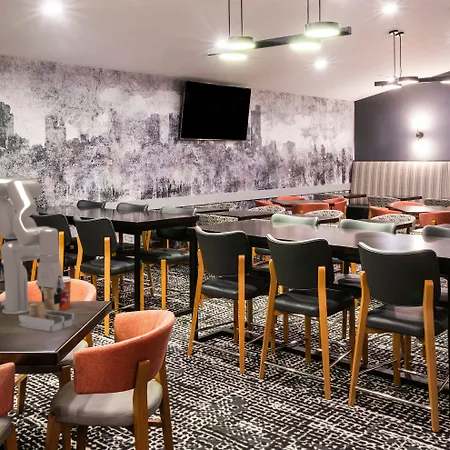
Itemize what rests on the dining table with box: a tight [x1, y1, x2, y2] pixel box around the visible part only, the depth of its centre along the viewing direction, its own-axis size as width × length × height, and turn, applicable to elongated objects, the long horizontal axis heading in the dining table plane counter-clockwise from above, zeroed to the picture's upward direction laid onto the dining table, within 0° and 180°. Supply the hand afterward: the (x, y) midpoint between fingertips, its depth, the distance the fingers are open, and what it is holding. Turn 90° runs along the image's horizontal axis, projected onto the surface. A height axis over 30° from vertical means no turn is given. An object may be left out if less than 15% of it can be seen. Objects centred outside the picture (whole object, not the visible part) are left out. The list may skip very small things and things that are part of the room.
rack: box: [18, 310, 75, 333], centre depth 242 cm, size 18×12×5 cm
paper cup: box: [58, 276, 72, 311], centre depth 271 cm, size 8×8×14 cm
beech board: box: [43, 287, 60, 311], centre depth 244 cm, size 6×2×9 cm, turn 61°
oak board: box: [29, 303, 46, 319], centre depth 241 cm, size 6×2×9 cm, turn 61°
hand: (51, 302), depth 244 cm, fingers closed on beech board, 6 cm apart
